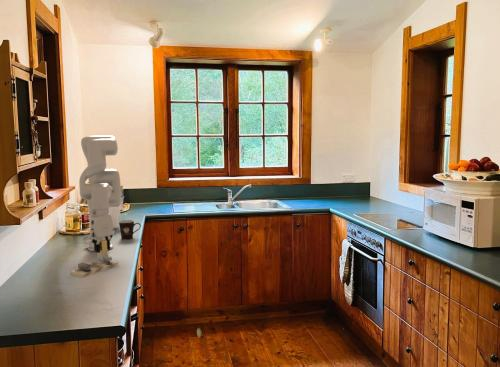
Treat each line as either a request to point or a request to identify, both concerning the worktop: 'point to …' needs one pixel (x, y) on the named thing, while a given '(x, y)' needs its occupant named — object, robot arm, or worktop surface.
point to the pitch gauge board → (92, 268)
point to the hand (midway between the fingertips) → (102, 250)
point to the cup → (115, 215)
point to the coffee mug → (127, 228)
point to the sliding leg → (103, 251)
